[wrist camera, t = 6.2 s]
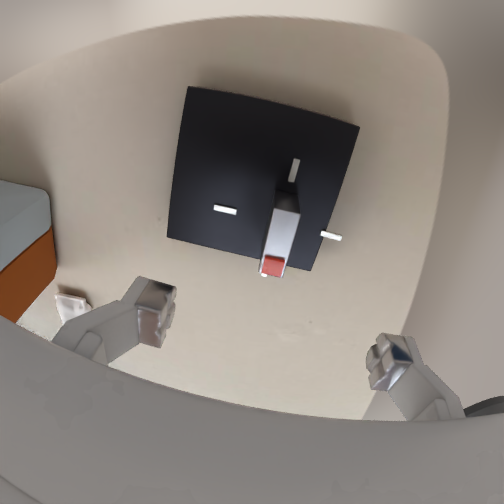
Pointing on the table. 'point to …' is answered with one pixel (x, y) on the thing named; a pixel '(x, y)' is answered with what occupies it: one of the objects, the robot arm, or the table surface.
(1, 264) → the alarm clock
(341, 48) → the table surface
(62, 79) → the table surface
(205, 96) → the black flat square piece
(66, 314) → the toy car
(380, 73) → the table surface
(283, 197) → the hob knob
